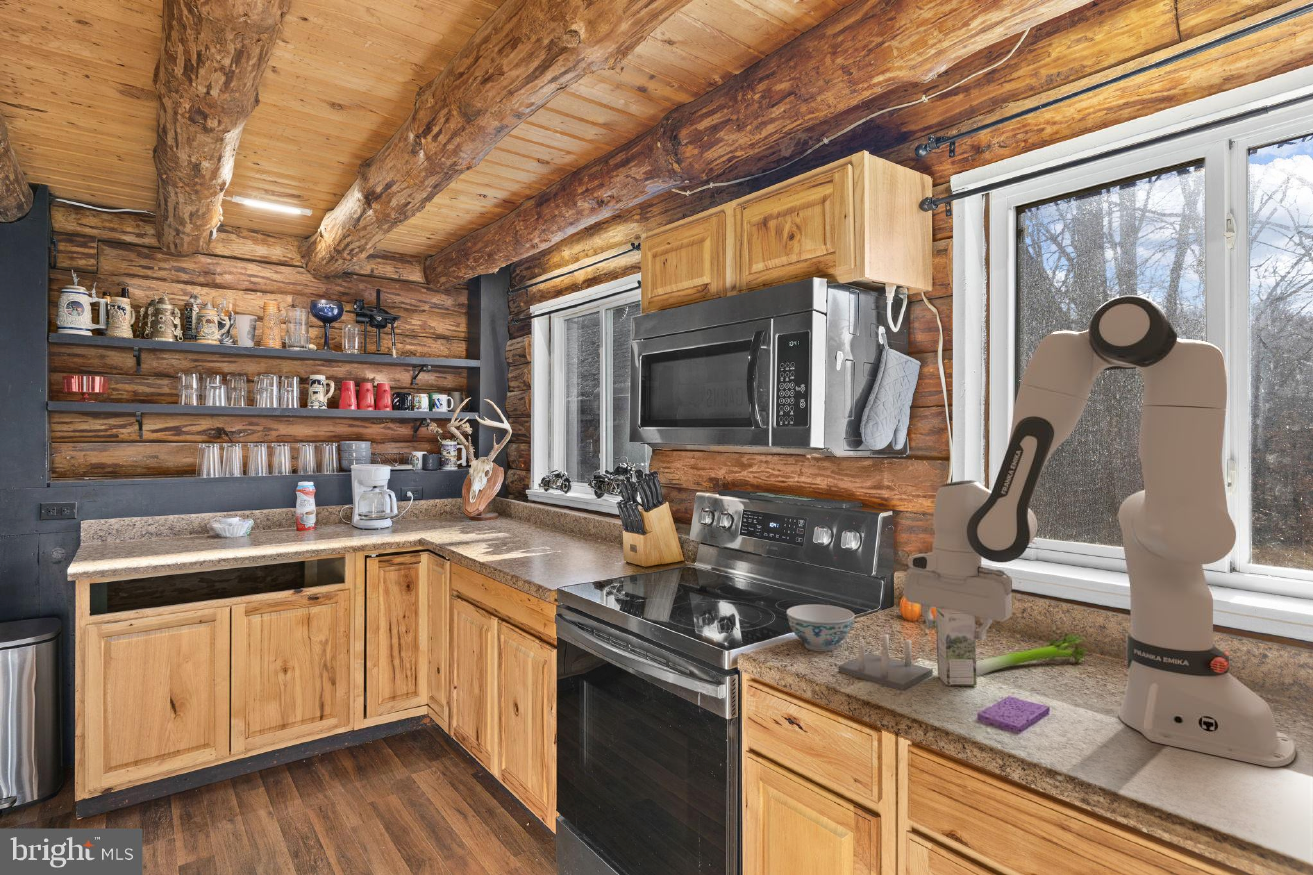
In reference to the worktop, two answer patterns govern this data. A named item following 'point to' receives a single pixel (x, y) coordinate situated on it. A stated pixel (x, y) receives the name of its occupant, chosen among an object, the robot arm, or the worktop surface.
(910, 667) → the pin tray
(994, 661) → the leek
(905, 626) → the worktop surface
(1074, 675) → the worktop surface
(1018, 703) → the sponges
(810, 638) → the chinaware
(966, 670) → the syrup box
